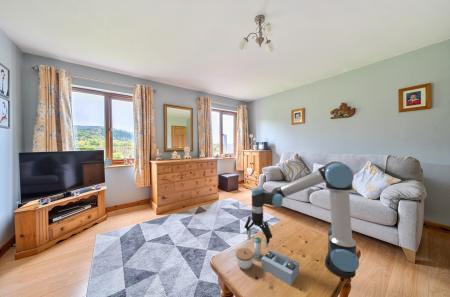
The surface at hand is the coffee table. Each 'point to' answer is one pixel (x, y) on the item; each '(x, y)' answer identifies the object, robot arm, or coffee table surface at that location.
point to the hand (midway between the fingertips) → (257, 243)
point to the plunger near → (291, 266)
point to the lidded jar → (244, 257)
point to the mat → (258, 258)
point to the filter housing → (280, 267)
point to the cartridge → (257, 247)
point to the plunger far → (269, 255)
